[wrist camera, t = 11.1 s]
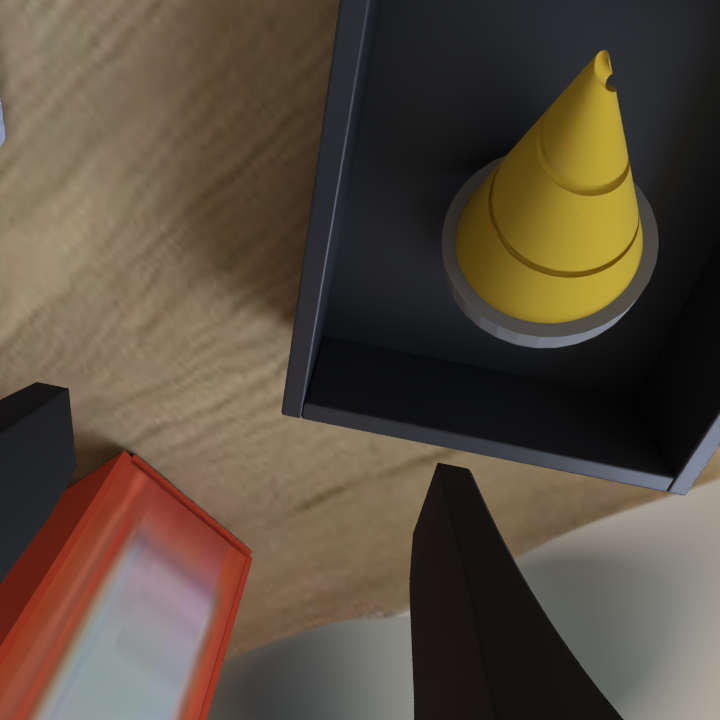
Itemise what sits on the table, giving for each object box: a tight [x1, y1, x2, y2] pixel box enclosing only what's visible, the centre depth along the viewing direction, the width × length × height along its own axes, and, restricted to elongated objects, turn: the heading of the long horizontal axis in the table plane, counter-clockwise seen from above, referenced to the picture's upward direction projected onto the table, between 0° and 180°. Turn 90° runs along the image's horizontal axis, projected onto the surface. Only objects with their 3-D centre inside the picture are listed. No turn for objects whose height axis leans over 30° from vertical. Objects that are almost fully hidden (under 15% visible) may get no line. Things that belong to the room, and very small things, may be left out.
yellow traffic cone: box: [442, 50, 659, 348], centre depth 14 cm, size 5×5×10 cm
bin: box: [282, 0, 720, 495], centre depth 15 cm, size 12×13×4 cm
